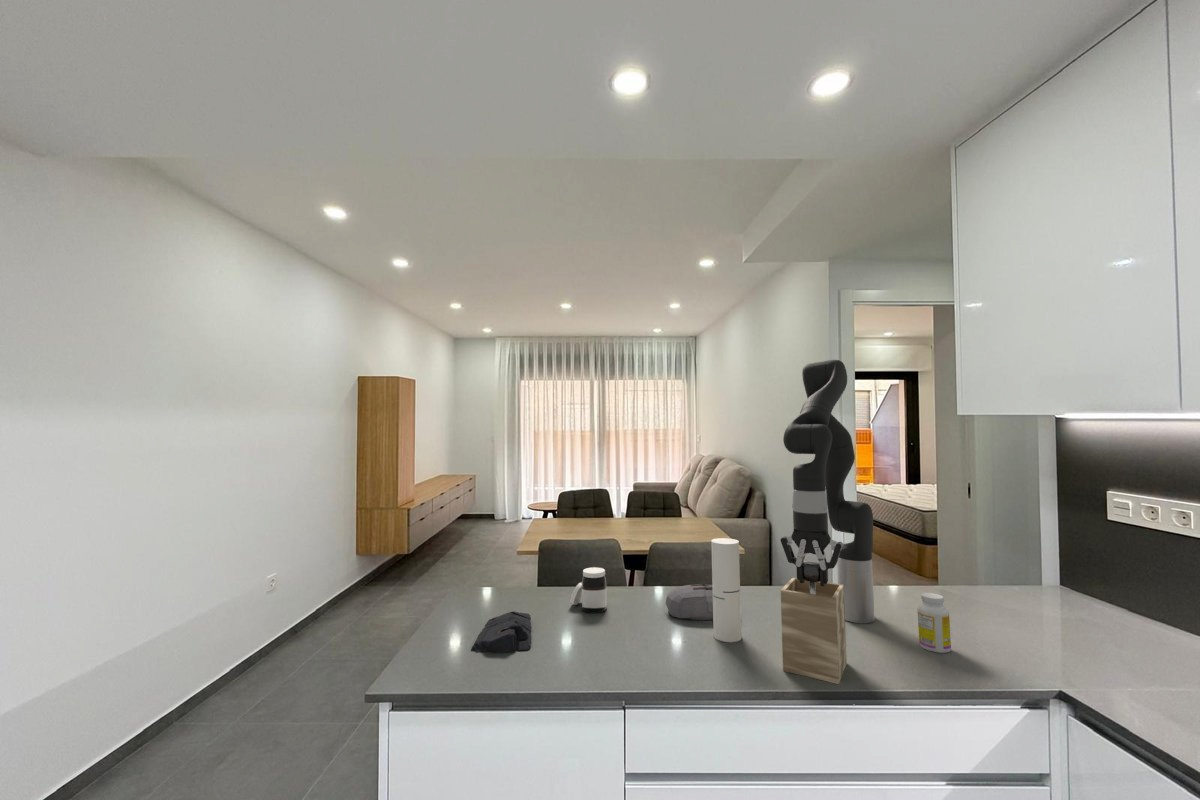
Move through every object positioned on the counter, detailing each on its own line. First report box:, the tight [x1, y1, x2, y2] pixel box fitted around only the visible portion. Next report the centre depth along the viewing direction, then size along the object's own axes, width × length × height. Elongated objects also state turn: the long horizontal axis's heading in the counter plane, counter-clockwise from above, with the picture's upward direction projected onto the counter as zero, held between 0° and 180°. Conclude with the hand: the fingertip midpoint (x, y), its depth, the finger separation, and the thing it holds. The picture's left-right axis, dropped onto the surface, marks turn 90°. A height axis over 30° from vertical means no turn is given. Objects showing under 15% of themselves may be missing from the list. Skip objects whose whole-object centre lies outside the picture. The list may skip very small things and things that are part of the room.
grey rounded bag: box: [665, 583, 713, 621], centre depth 154 cm, size 15×8×20 cm
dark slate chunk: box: [470, 611, 532, 654], centre depth 139 cm, size 15×22×5 cm
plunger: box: [803, 561, 821, 595], centre depth 119 cm, size 9×9×22 cm
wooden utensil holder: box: [780, 577, 848, 685], centre depth 119 cm, size 12×12×18 cm
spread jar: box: [570, 566, 608, 613], centre depth 160 cm, size 12×11×12 cm
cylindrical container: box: [710, 537, 742, 643], centre depth 137 cm, size 7×7×25 cm
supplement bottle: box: [916, 592, 952, 654], centre depth 128 cm, size 7×7×13 cm
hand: (812, 583), depth 119 cm, fingers closed on plunger, 4 cm apart
